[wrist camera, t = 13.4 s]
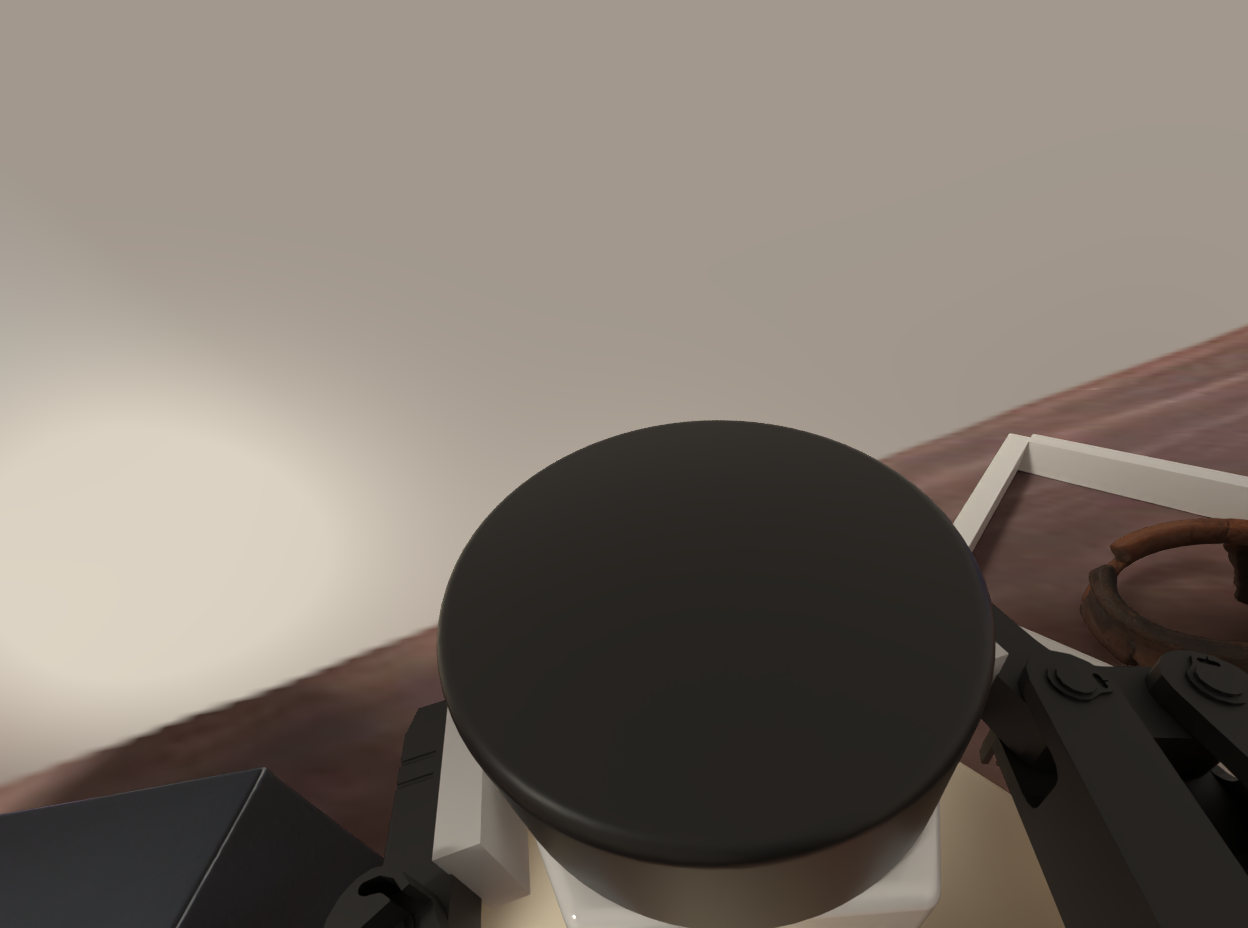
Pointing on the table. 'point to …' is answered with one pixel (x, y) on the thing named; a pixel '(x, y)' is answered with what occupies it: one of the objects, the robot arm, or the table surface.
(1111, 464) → the grey tray rim
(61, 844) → the small box
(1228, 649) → the pottery mug
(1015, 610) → the table surface
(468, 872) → the robot arm
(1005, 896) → the maple base
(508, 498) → the jar
